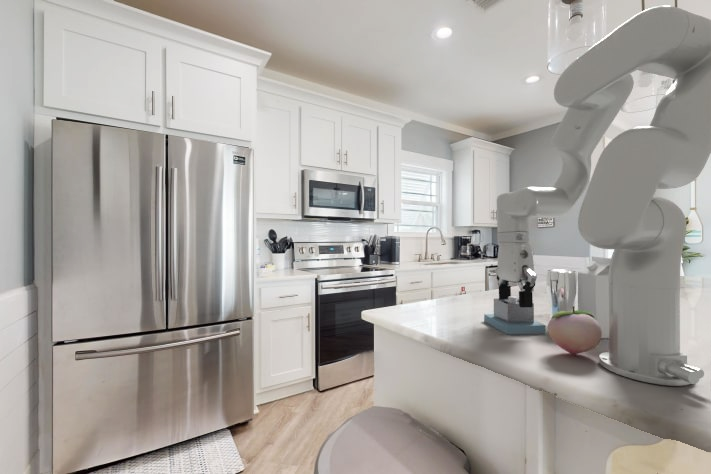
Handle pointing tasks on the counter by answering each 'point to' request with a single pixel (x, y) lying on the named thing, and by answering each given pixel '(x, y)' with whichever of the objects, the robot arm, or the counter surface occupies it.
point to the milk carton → (595, 291)
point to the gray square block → (512, 312)
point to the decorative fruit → (575, 331)
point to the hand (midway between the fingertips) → (514, 303)
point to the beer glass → (561, 290)
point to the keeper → (515, 324)
